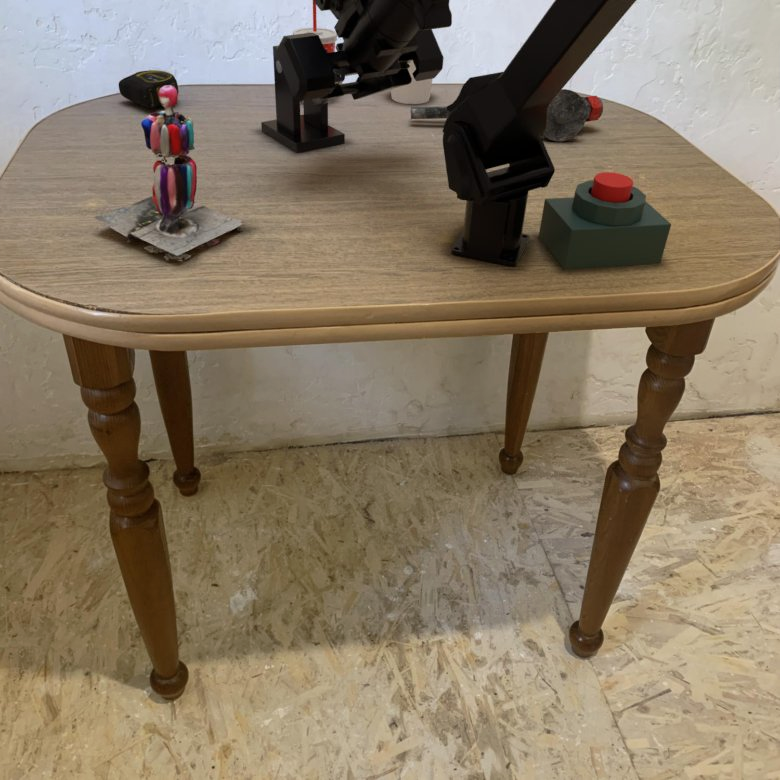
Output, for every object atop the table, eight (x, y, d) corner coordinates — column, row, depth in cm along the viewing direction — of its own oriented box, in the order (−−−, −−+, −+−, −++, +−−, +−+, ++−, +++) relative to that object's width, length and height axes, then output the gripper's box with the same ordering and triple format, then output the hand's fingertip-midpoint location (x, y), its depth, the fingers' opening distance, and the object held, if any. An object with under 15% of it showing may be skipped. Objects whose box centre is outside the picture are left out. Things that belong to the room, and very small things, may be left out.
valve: (583, 121, 114) (610, 141, 101) (408, 123, 114) (412, 144, 101) (588, 74, 111) (616, 89, 98) (408, 77, 111) (412, 92, 97)
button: (600, 205, 72) (604, 187, 70) (584, 190, 74) (588, 172, 73) (635, 203, 72) (640, 186, 71) (619, 188, 75) (623, 171, 74)
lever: (361, 98, 90) (362, 78, 88) (324, 105, 87) (325, 84, 86) (311, 67, 96) (312, 47, 95) (276, 72, 94) (276, 52, 92)
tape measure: (119, 103, 107) (114, 75, 105) (161, 93, 111) (157, 66, 109) (147, 115, 103) (142, 86, 101) (189, 104, 107) (186, 76, 105)
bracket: (344, 143, 98) (345, 53, 91) (296, 153, 94) (293, 60, 88) (308, 122, 103) (305, 36, 97) (261, 131, 100) (256, 42, 93)
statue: (244, 240, 78) (250, 91, 68) (177, 275, 72) (173, 116, 62) (165, 200, 82) (159, 54, 72) (94, 230, 75) (78, 74, 66)
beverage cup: (343, 104, 110) (343, -4, 102) (301, 107, 108) (298, -3, 100) (329, 91, 115) (328, -13, 106) (289, 94, 113) (285, -12, 104)
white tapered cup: (441, 97, 115) (445, 47, 110) (418, 108, 110) (421, 56, 106) (402, 88, 117) (404, 39, 113) (378, 99, 113) (379, 48, 108)
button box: (564, 270, 73) (575, 211, 69) (538, 237, 78) (547, 181, 75) (660, 264, 75) (676, 206, 71) (628, 232, 80) (642, 176, 77)
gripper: (435, -63, 81) (373, 27, 95) (280, -54, 72) (235, 45, 86) (477, 34, 81) (408, 110, 94) (326, 55, 72) (274, 137, 85)
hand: (334, 99), depth 90 cm, fingers closed on lever, 5 cm apart
